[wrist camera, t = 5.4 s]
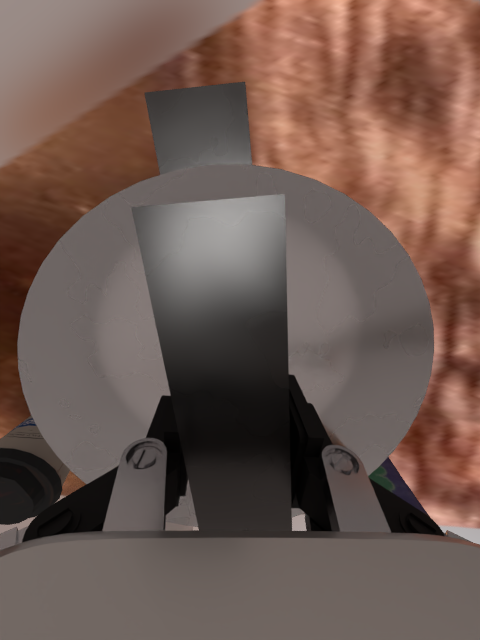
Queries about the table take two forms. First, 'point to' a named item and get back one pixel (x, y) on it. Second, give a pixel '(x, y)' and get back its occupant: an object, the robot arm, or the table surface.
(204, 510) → the lid
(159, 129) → the cooker pot
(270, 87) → the table surface
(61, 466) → the coffee cup
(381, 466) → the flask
